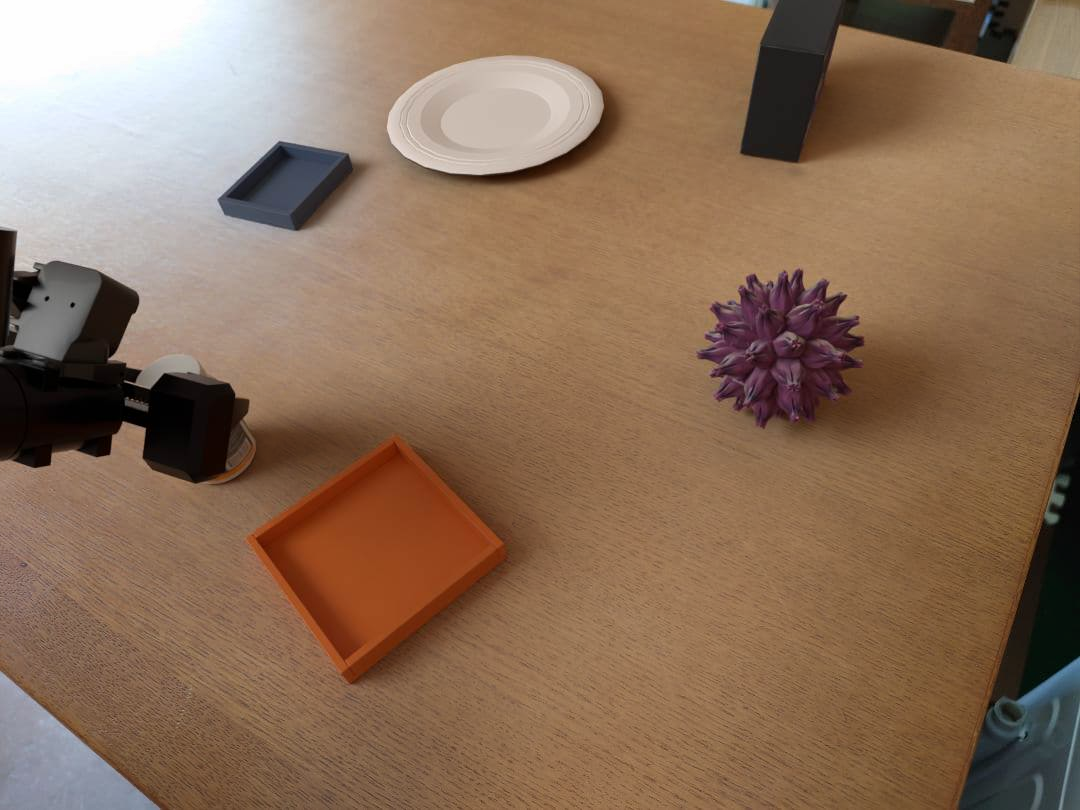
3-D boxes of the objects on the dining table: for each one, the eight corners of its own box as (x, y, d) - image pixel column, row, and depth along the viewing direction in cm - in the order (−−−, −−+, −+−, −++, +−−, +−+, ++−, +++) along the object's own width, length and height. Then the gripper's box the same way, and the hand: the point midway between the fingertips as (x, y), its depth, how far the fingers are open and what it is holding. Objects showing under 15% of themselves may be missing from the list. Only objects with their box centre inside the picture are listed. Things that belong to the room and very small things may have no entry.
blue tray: (296, 231, 80) (289, 215, 79) (224, 215, 83) (216, 199, 82) (353, 169, 87) (348, 153, 85) (285, 155, 90) (279, 140, 88)
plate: (351, 171, 86) (346, 156, 85) (444, 60, 101) (441, 46, 99) (563, 203, 80) (562, 187, 78) (630, 79, 94) (630, 64, 92)
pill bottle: (183, 445, 64) (122, 364, 56) (252, 420, 65) (202, 337, 57) (192, 498, 60) (128, 419, 52) (264, 470, 61) (212, 389, 53)
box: (802, 165, 80) (826, 52, 71) (738, 156, 82) (752, 44, 73) (829, 82, 90) (852, -28, 80) (770, 75, 92) (787, -33, 82)
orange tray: (349, 685, 50) (340, 673, 48) (254, 551, 57) (244, 538, 55) (507, 557, 55) (504, 543, 53) (402, 448, 61) (396, 433, 60)
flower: (699, 457, 60) (686, 328, 66) (860, 450, 59) (833, 318, 64) (708, 388, 50) (692, 241, 55) (903, 376, 49) (867, 227, 54)
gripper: (137, 299, 39) (318, 308, 54) (-116, 237, 44) (111, 261, 59) (114, 509, 41) (295, 462, 56) (-128, 425, 46) (96, 403, 61)
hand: (196, 391), depth 58 cm, fingers open, 9 cm apart
